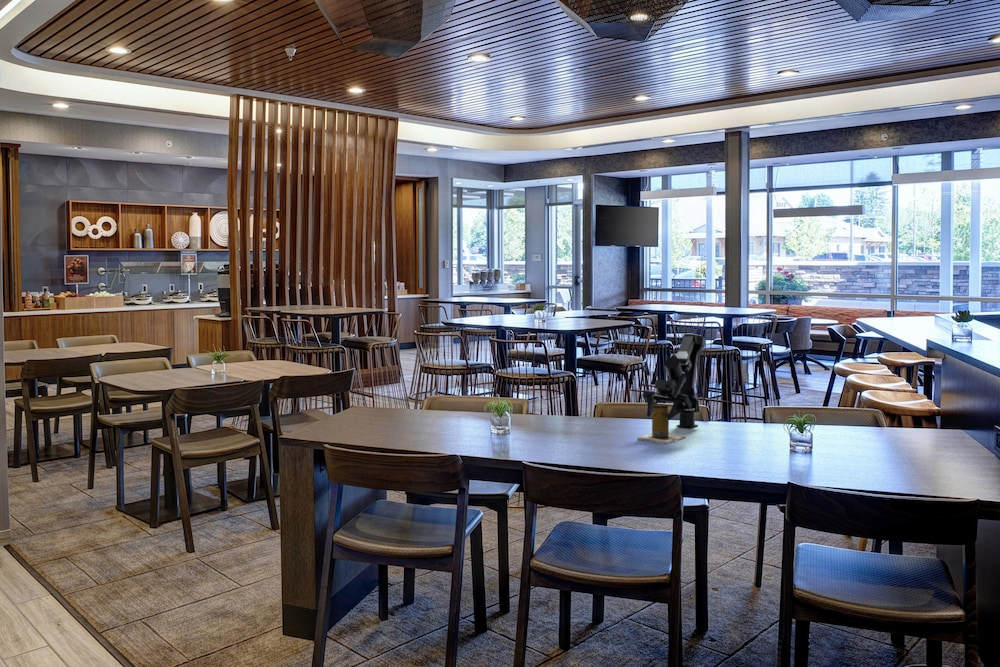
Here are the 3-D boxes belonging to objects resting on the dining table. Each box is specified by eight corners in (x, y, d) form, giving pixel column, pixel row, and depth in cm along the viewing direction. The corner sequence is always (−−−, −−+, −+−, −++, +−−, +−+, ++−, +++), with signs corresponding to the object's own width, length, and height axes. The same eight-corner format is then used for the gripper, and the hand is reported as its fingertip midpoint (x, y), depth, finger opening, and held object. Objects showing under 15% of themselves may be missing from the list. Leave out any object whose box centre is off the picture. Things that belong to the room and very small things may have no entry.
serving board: (657, 433, 306) (657, 431, 306) (685, 438, 298) (685, 435, 298) (637, 439, 296) (637, 437, 296) (665, 444, 288) (665, 442, 287)
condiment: (659, 434, 301) (659, 403, 300) (677, 437, 295) (677, 405, 294) (646, 437, 297) (646, 405, 296) (665, 440, 290) (665, 408, 289)
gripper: (644, 369, 303) (628, 401, 296) (688, 373, 290) (671, 407, 283) (655, 387, 310) (640, 419, 303) (698, 392, 297) (683, 425, 290)
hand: (658, 417), depth 294 cm, fingers open, 8 cm apart
